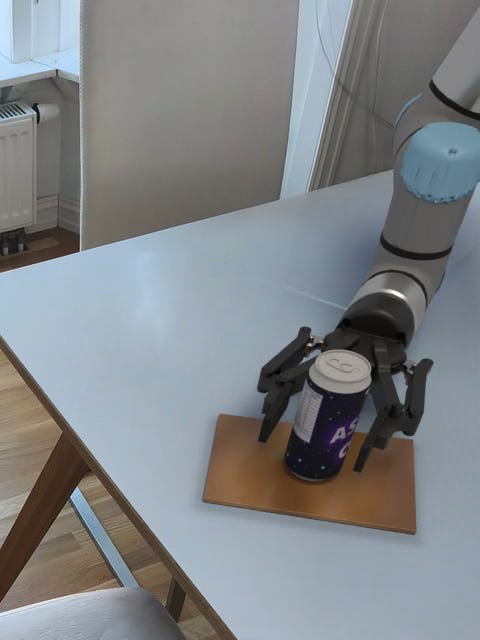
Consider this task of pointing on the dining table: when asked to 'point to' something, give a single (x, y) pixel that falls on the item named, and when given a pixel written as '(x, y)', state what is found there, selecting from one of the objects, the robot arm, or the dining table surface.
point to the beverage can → (327, 414)
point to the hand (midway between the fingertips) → (311, 445)
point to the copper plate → (311, 496)
